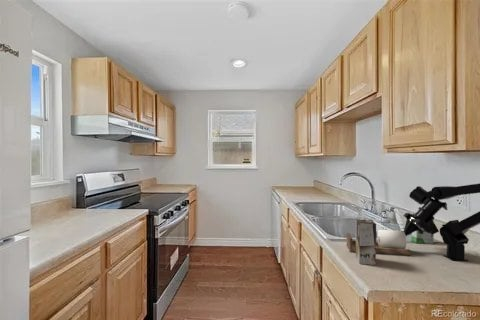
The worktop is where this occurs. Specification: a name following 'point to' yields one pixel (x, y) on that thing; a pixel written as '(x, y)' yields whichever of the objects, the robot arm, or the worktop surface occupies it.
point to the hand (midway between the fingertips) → (403, 235)
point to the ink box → (422, 237)
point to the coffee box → (366, 242)
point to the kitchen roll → (391, 239)
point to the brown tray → (377, 248)
